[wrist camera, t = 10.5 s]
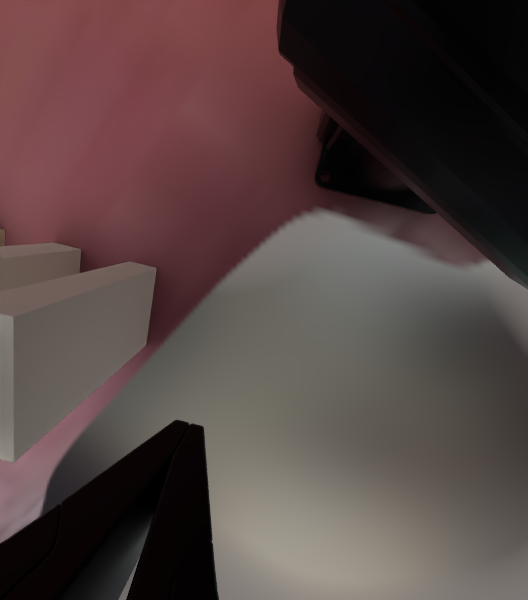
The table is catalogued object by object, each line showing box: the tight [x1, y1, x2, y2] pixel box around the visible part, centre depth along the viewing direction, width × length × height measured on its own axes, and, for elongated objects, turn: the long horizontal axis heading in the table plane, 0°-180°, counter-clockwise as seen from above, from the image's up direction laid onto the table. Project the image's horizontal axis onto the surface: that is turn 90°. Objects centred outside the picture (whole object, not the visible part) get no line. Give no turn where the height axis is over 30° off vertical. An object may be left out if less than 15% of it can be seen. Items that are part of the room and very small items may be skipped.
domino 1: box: [0, 261, 157, 463], centre depth 13 cm, size 2×5×9 cm, turn 167°
